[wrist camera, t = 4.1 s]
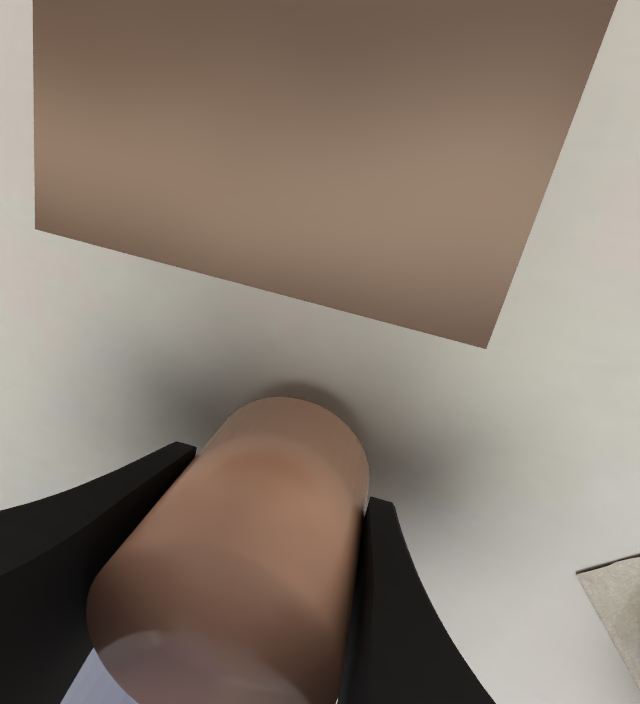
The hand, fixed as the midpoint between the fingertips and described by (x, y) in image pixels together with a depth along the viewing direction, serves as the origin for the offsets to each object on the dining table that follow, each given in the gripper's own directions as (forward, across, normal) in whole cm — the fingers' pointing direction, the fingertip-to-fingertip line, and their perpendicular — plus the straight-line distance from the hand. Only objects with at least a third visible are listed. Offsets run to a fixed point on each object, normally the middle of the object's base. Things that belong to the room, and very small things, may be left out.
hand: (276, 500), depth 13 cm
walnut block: (+4, +1, -11) cm, 12 cm away
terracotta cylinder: (+2, 0, 0) cm, 2 cm away
